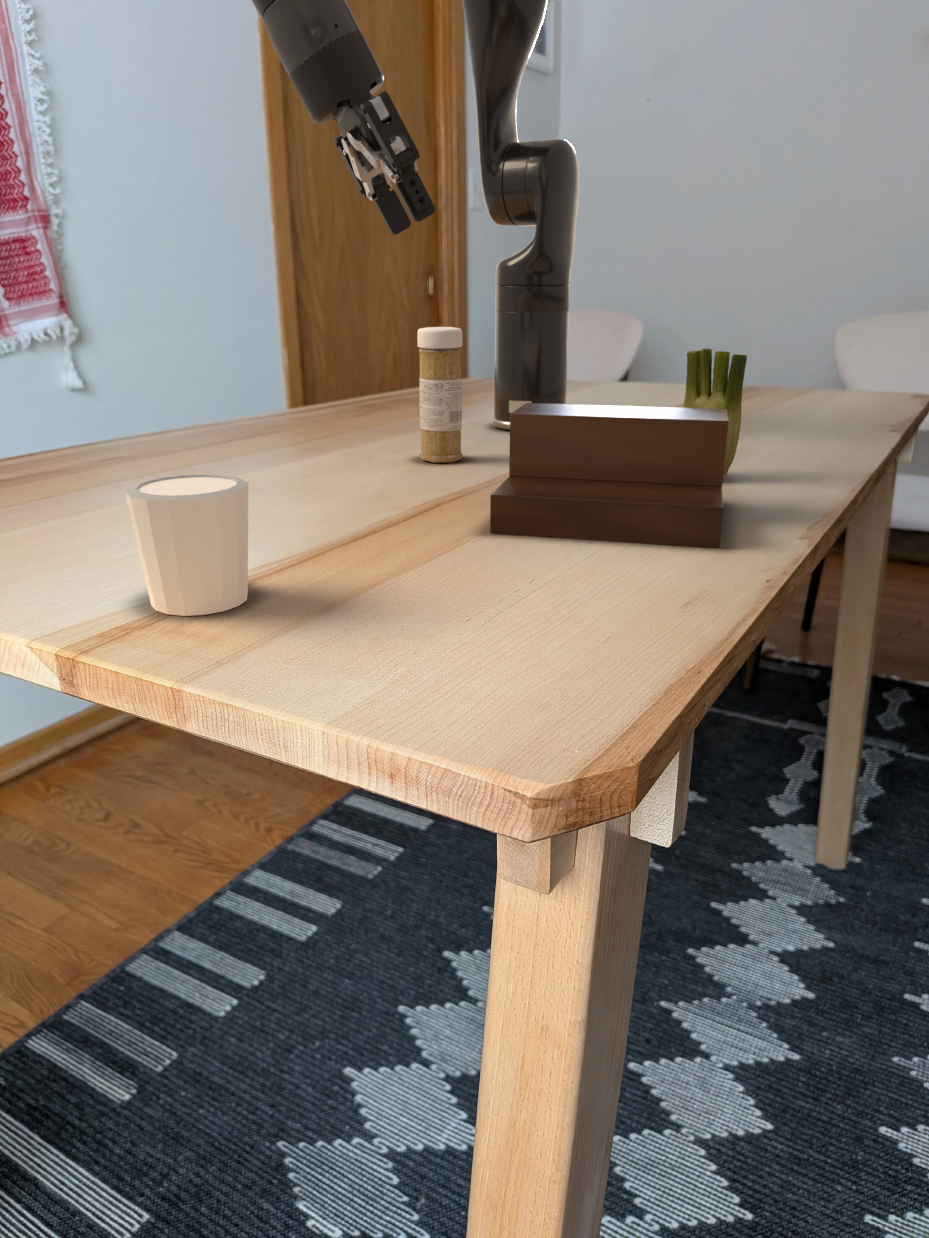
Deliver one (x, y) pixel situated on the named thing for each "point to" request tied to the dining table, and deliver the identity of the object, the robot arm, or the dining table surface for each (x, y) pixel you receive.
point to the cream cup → (192, 541)
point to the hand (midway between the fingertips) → (413, 224)
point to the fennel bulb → (717, 390)
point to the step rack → (614, 474)
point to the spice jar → (440, 393)
